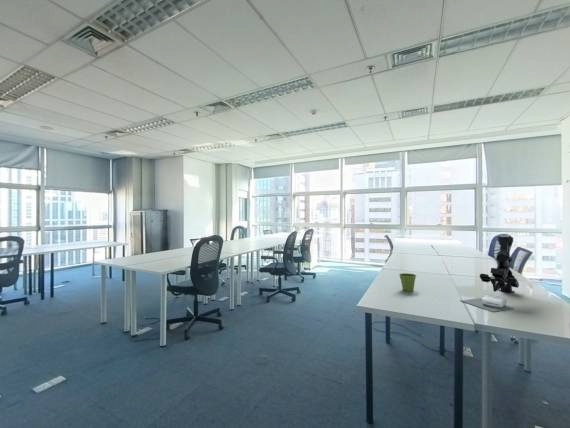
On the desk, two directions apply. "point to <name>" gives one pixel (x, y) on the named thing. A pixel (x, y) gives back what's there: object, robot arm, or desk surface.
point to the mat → (478, 303)
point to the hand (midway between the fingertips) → (494, 291)
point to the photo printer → (494, 301)
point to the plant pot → (407, 281)
